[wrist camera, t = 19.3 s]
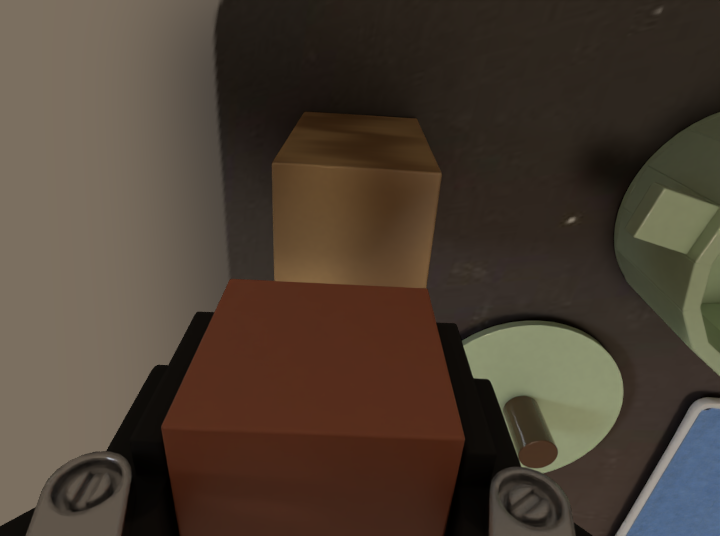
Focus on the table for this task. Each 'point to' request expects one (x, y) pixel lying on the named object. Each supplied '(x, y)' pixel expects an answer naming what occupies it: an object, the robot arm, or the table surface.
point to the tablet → (683, 481)
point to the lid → (548, 388)
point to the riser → (354, 201)
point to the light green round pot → (677, 236)
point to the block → (315, 415)
